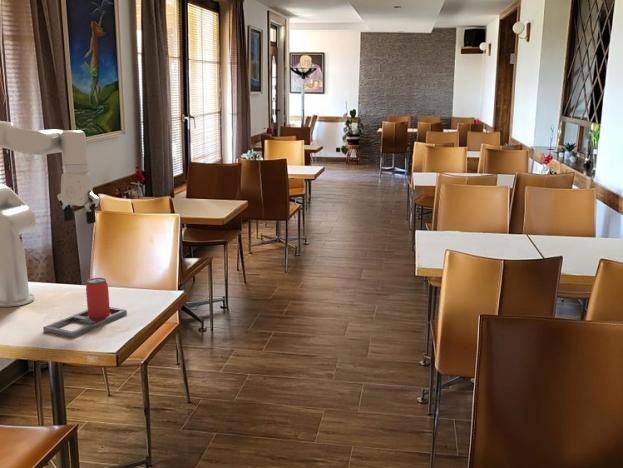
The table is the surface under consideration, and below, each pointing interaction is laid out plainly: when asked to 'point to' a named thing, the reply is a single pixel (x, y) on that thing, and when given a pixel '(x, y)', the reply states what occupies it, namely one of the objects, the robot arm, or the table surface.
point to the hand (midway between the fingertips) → (80, 221)
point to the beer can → (97, 298)
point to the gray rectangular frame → (85, 320)
